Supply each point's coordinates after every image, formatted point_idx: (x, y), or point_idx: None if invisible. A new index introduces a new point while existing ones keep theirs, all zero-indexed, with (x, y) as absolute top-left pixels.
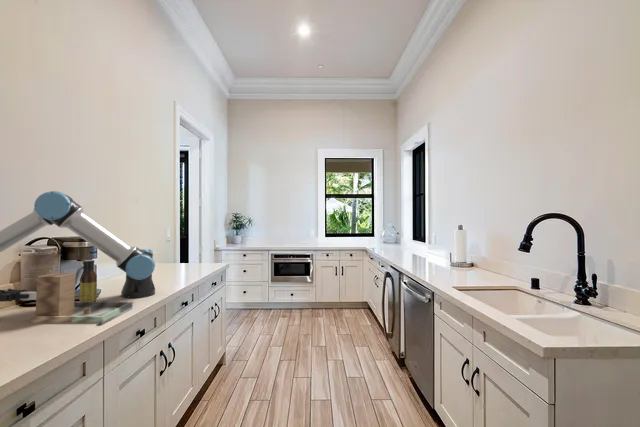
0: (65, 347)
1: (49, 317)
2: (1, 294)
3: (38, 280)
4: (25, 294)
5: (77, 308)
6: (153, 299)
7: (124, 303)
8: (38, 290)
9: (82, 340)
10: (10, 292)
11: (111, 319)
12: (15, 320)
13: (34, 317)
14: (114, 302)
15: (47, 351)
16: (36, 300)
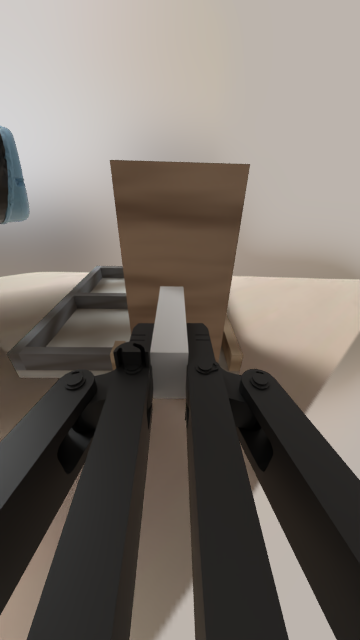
0: (301, 281)
1: (227, 318)
2: (320, 478)
3: (243, 192)
4: (193, 333)
5: (68, 341)
6: (15, 277)
7: (97, 272)
8: (233, 250)
9: (272, 278)
10: (128, 517)
11: None
12: (185, 496)
13: (237, 345)
14: (87, 279)
15: (323, 287)
16: (227, 299)
